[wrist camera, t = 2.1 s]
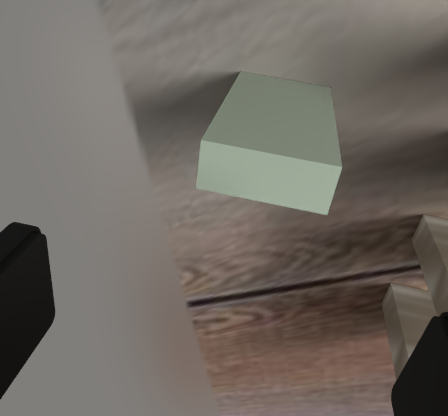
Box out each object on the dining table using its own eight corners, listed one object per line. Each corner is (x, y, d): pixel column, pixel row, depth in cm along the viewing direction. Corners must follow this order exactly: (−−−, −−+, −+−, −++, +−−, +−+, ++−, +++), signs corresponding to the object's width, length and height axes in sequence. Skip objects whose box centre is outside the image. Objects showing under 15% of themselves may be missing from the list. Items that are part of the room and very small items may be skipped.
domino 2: (390, 282, 29) (423, 419, 20) (464, 298, 28) (528, 444, 20) (381, 303, 30) (408, 440, 22) (452, 318, 29) (507, 464, 21)
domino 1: (240, 71, 23) (200, 140, 15) (330, 87, 23) (342, 167, 14) (235, 106, 24) (196, 188, 16) (321, 121, 24) (327, 215, 15)
